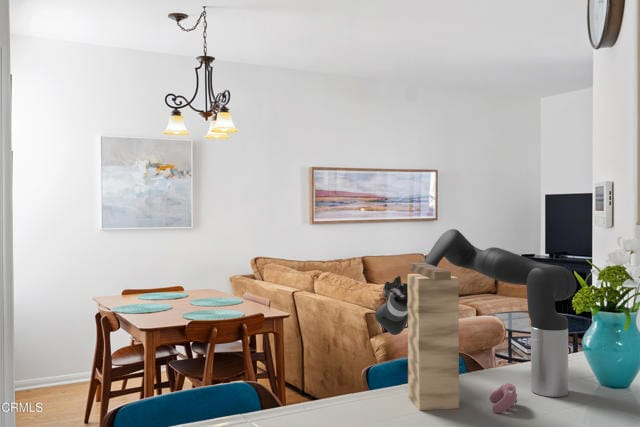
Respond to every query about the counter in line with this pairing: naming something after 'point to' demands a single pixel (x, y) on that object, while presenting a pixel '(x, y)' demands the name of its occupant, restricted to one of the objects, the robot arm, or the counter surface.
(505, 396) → the pink curved piece
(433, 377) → the wooden block tower
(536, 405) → the counter surface
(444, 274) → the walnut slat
